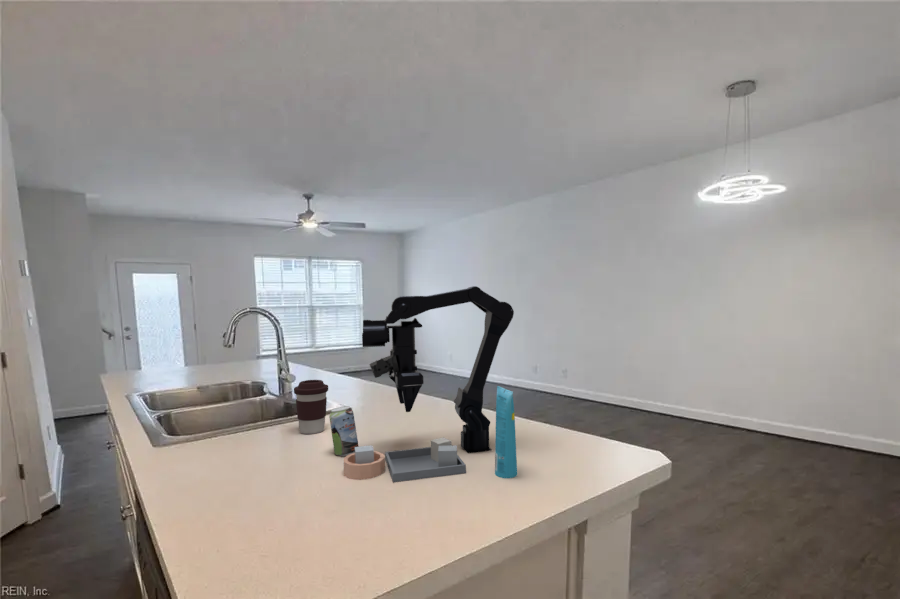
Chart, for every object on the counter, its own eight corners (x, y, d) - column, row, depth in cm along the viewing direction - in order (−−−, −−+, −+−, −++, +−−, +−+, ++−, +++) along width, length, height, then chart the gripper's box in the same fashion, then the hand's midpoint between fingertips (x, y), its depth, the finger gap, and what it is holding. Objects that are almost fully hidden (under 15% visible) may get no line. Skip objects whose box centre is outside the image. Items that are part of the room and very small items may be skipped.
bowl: (382, 463, 105) (381, 449, 105) (386, 478, 96) (386, 462, 96) (343, 468, 103) (343, 453, 103) (344, 483, 94) (344, 467, 94)
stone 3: (457, 465, 102) (456, 445, 102) (457, 471, 98) (457, 450, 98) (439, 465, 102) (438, 445, 102) (438, 471, 98) (438, 451, 98)
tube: (524, 479, 94) (523, 390, 94) (505, 484, 92) (504, 392, 92) (505, 468, 101) (504, 384, 101) (487, 472, 99) (486, 386, 99)
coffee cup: (310, 438, 126) (309, 385, 126) (287, 433, 131) (286, 382, 131) (335, 429, 135) (335, 380, 135) (313, 424, 140) (313, 377, 140)
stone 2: (443, 455, 109) (443, 437, 109) (451, 458, 106) (451, 440, 106) (430, 458, 107) (430, 440, 107) (438, 462, 104) (438, 443, 104)
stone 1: (372, 466, 102) (372, 445, 102) (374, 472, 98) (373, 450, 98) (354, 468, 101) (354, 447, 101) (355, 474, 97) (355, 452, 97)
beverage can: (352, 459, 108) (351, 411, 108) (325, 458, 110) (324, 410, 110) (362, 451, 114) (362, 405, 114) (336, 449, 116) (335, 404, 116)
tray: (449, 453, 111) (449, 444, 111) (466, 475, 97) (465, 464, 97) (385, 461, 107) (385, 451, 107) (393, 484, 93) (392, 473, 93)
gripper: (368, 343, 118) (369, 402, 118) (375, 351, 100) (376, 420, 100) (409, 342, 121) (410, 398, 121) (423, 348, 103) (424, 415, 103)
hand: (405, 407), depth 111 cm, fingers open, 9 cm apart
